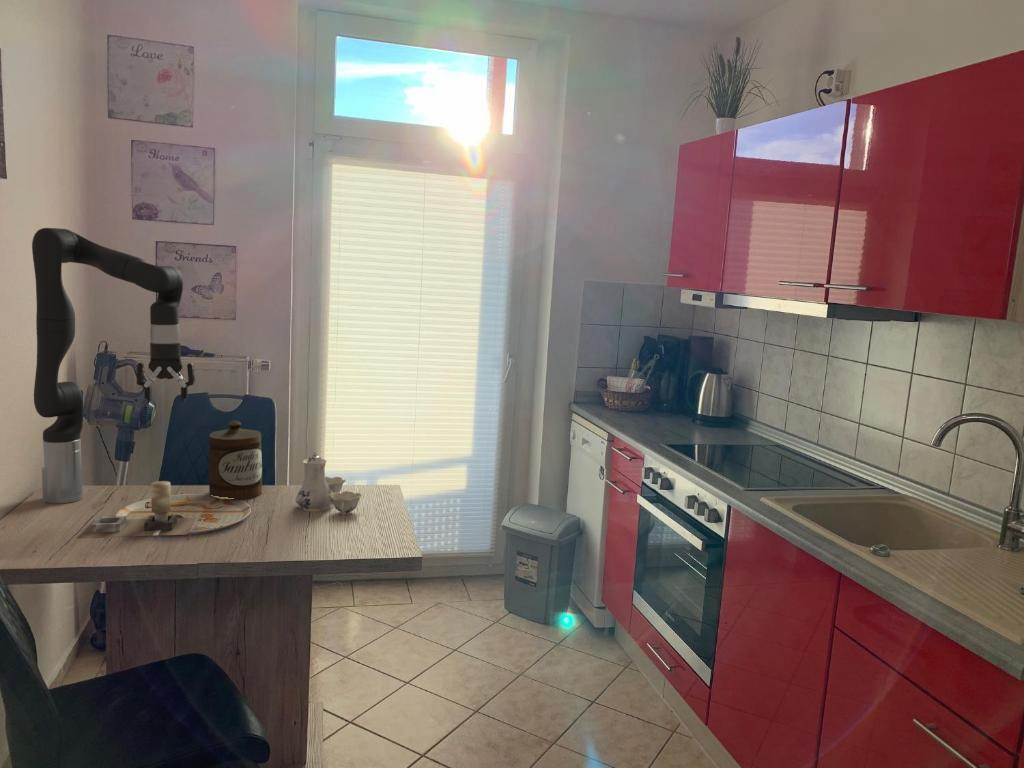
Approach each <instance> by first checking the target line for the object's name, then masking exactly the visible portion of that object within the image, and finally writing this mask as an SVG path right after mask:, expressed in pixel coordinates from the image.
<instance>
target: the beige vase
mask: <svg viewBox="0 0 1024 768" xmlns="http://www.w3.org/2000/svg"><path fill="white" fill-rule="evenodd" d="M150 484H151V488H150V489H151V494H150V496H151V498H150V500H151V502H150V504H151V507H150V508H151V513H153V514H154V515H155V522H161V521H168V512H172V511H171V500H172V499H171V498H172V497H171V492H172V491H171V482H170V481H167V480H160V481H154V482H151V483H150Z"/></svg>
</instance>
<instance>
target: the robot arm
mask: <svg viewBox="0 0 1024 768" xmlns="http://www.w3.org/2000/svg"><path fill="white" fill-rule="evenodd" d="M31 251H32V252H31V253H32V260H33V267H34V269H33V270H34V276H35V293H36V297H35V298H36V316H35V317H36V321H35V323H36V330H35V331H36V368H35V377H34V386H33V403H34V407H35V410H36V411H35V412H36V413H38V415H39V416H40V417H43V418H55V417H56V420H55V421H54V422H53V423H52V424H51V425H50V426H48V427H47V428H45V429H44V430H43V431H42V445H43V446H42V449H43V450H42V451H43V468H41V487H42V503H50V504H67V503H73V502H77V501H80V500H82V499H83V497H84V496H83V495H84V494H83V493H84V491H83V470H82V469H83V468H82V465H83V463H82V446H81V445H82V443H81V442H82V441H81V433H82V431H83V426H84V398H83V397H84V396H83V393H82V390H81V388H80V386H79V385H78V384H77V383H75V382H74V381H63V382H62V381H60V382H59V371H60V367H61V365H62V362H63V359H64V358H65V356H66V355H67V353H68V352H69V349H70V348H71V346H72V344H73V342H74V340H75V335H76V312H75V309H74V306H73V303H72V302H71V300H70V298H69V296H68V294H67V292H66V289H65V287H64V285H63V277H62V275H63V274H62V268H63V267H62V264H68V263H75V264H82V265H86V266H91V267H94V268H95V269H98V270H99V271H101V272H103V273H104V274H106V275H108V276H111V277H113V278H115V279H119V280H121V281H124V282H127V283H131V284H135V285H136V286H137V287H140V288H142V289H143V290H145V291H149V292H152V293H158V294H157V300H156V301H154V302H153V303H152V304H151V305H150V307H149V309H150V310H149V314H150V316H149V318H150V319H149V320H150V325H149V326H150V328H149V354H150V355H149V356H150V360H149V363H148V362H144V361H141V362H140V361H139V362H138V363H137V367H136V384H137V385H138V386H142V387H144V398H145V400H147V402H152V400H153V395H152V394H153V393H152V392H153V391H152V389H153V387H152V386H151V385H152V384H153V383H154V382H155V381H156V379H159V380H165V379H167V380H172V379H175V381H176V382H178V383H179V385H180V387H181V388H180V401H181V402H185V401H186V400H187V399H188V398H189V396H188V395H189V394H188V393H189V392H188V391H189V390H188V389H189V388H188V387H190V386H193V385H194V384H195V383H196V379H195V367H194V363H193V362H188V363H186V362H185V363H182V359H181V355H182V354H181V339H182V338H181V331H180V322H179V321H180V319H179V318H180V317H179V316H180V315H179V314H180V313H179V307H180V303H181V300H182V295H183V291H184V279H183V275H182V273H181V271H180V269H178V268H176V267H174V266H172V265H171V266H170V265H155V264H151V263H148V262H147V261H146V260H145V259H143V258H141V257H138V256H134V255H131V254H128V253H124V252H122V251H118V250H115V249H111V248H108V247H106V246H103V245H101V244H98V243H95V242H93V241H92V240H89V239H87V238H85V237H84V236H82V235H79V234H78V233H76V232H73V231H72V230H69V229H66V228H55V227H42V228H39V229H38V230H37V231H36V232H35V233H34V235H33V238H32V241H31ZM148 369H149V370H150V371H151V372H152V374H151V375H150V376H149V377H148V379H147V380H145V371H147V370H148ZM182 369H184V371H186V372H187V378H188V381H187V380H186V379H185V378H184V377H183V375H182V374H181V370H182Z"/></svg>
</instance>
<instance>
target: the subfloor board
mask: <svg viewBox="0 0 1024 768" xmlns="http://www.w3.org/2000/svg"><path fill="white" fill-rule="evenodd" d="M197 519H198V517H195V516H194V517H193V516H192V517H178V514H174V513H173V511H169V512H168V521H161V522H155V514H154V515H152V514H151V515H149V516H148V517H147V518H134V519H133V518H132V519H129V518H128V519H127V516H126V515H125V516H124V515H123V516H119V515H118V516H98V517H97V518H96V519H94V520H92V521H91V523H89V525H88V526H87V527H85V528H84V529H83V530H82V532H81V533H80V534H79V535H78V536H77V537H76V539H96V538H97V539H98V538H99V539H101V538H123V537H124V538H125V537H127V538H128V537H155V536H183V535H184V536H185V535H189V536H188V537H187V538H186V541H189V539H190V538H191V536H192V534H191V531H192V529H193V527H194V525H195V524H196V523H195V522H197Z"/></svg>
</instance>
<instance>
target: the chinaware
mask: <svg viewBox="0 0 1024 768" xmlns="http://www.w3.org/2000/svg"><path fill="white" fill-rule="evenodd" d="M302 463H303V467H304V479H303V482H302V485H301V486H300V488H299V490H298V492H297V494H296V497H295V503H296V504H297V505H298V506H299V510H301V511H304V512H322V511H327V510H329V509H330V508H331V504H333V507H334V508H335V510H337V511H338V512H339V514H340V515H341V516H349V515H352V514H353V513H352V511H354V510H355V509H357V507H358V505H359V501H360V499H361V496H362V493H361V492H357V493H355V492H353V491H350V490H346V491H344V490H343V492H341V491H342V488H343V485H344V483H345V482H346V479H343V478H342V477H340V476H335V477H329V476H326V475H325V474H326V473H325V470H326V469H325V467H326V463H327V460H326V459H324V458H322V457H321V456H320V455H318V453H317V452H316V451H313V452H312V454H311V455H310V456H309V457H308V458H307V459H304V460H303V461H302ZM340 492H341V493H340Z"/></svg>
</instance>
